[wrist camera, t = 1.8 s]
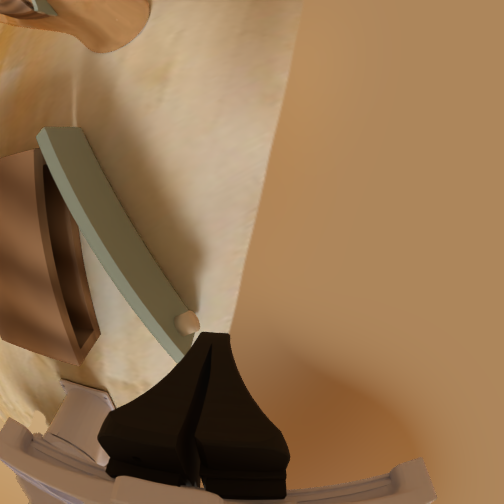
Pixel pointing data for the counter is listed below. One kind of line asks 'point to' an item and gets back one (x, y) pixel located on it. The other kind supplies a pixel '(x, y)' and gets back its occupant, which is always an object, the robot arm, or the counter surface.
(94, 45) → the beer glass
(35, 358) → the counter surface
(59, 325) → the cabinet
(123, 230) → the cabinet door
